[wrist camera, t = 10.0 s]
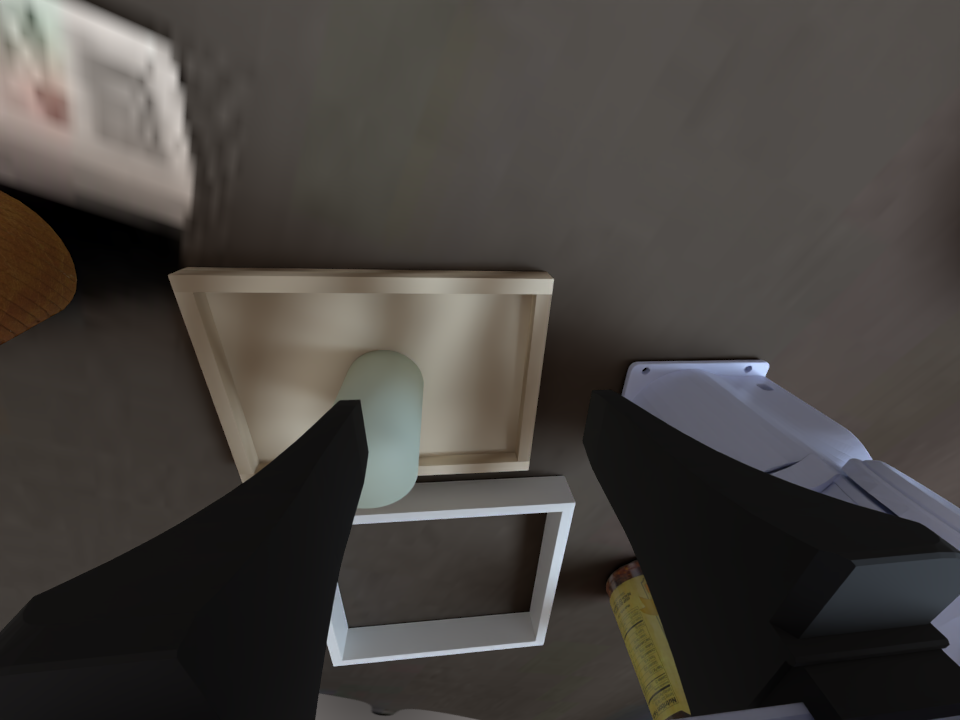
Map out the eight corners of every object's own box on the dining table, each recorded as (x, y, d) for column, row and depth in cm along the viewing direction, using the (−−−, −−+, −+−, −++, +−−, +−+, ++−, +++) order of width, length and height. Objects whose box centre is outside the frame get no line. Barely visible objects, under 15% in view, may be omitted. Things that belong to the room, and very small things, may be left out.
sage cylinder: (430, 357, 21) (427, 437, 15) (416, 419, 23) (408, 513, 17) (350, 343, 20) (311, 421, 14) (342, 408, 22) (305, 503, 16)
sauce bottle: (679, 569, 35) (925, 978, 17) (628, 602, 36) (804, 1003, 19) (638, 544, 32) (878, 993, 15) (586, 581, 34) (744, 1020, 17)
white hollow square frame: (564, 475, 27) (575, 502, 25) (536, 615, 36) (543, 644, 34) (303, 488, 25) (290, 519, 23) (340, 633, 34) (333, 666, 32)
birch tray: (546, 271, 20) (553, 279, 18) (523, 454, 26) (528, 470, 24) (187, 266, 18) (167, 275, 16) (253, 466, 24) (242, 484, 22)
